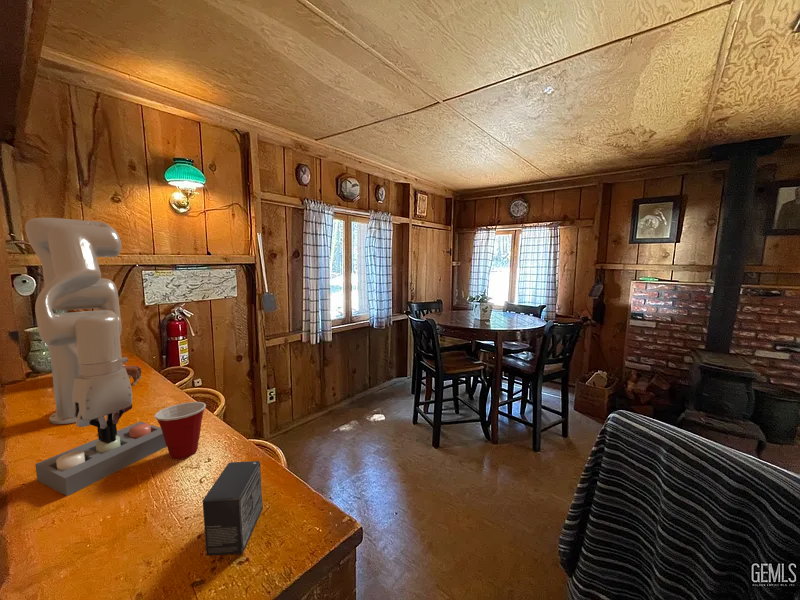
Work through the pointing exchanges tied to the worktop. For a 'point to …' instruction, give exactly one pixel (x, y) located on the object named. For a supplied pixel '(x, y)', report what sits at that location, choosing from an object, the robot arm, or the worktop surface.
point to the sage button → (107, 445)
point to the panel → (99, 461)
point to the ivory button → (70, 460)
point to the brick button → (139, 430)
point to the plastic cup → (181, 428)
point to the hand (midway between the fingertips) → (108, 440)
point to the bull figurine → (133, 372)
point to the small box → (232, 508)
